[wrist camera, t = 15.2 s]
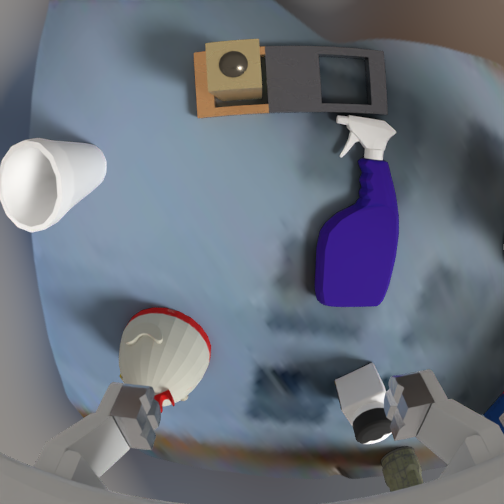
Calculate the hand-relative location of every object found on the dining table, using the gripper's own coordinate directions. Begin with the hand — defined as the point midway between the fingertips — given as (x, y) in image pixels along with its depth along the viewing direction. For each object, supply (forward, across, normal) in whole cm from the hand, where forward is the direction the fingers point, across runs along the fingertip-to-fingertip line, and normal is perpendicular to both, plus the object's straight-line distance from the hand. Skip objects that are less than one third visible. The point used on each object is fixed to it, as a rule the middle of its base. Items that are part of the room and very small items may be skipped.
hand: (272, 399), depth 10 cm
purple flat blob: (+32, -12, +3) cm, 34 cm away
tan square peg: (+31, +2, -14) cm, 34 cm away
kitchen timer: (+31, +16, +22) cm, 42 cm away
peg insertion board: (+31, -4, -14) cm, 34 cm away
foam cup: (+31, +23, -6) cm, 39 cm away
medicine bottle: (+31, -15, +32) cm, 47 cm away
